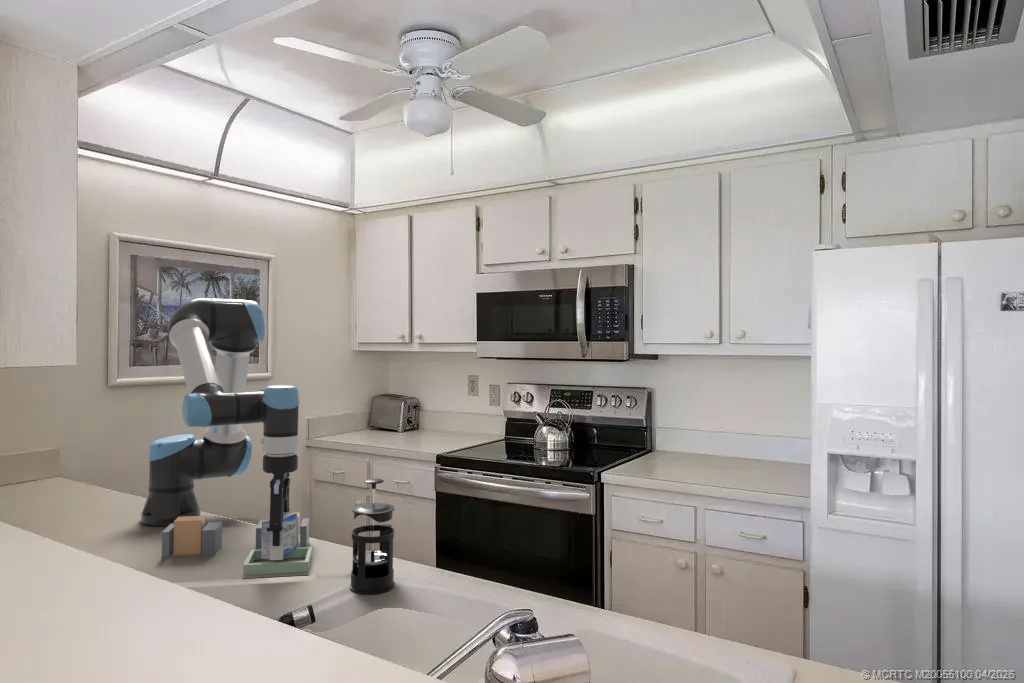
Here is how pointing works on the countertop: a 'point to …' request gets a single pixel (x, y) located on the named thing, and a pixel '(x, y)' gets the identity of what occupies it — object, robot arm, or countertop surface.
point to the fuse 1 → (188, 535)
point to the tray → (278, 563)
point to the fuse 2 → (298, 527)
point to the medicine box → (288, 535)
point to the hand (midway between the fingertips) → (279, 552)
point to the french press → (375, 565)
